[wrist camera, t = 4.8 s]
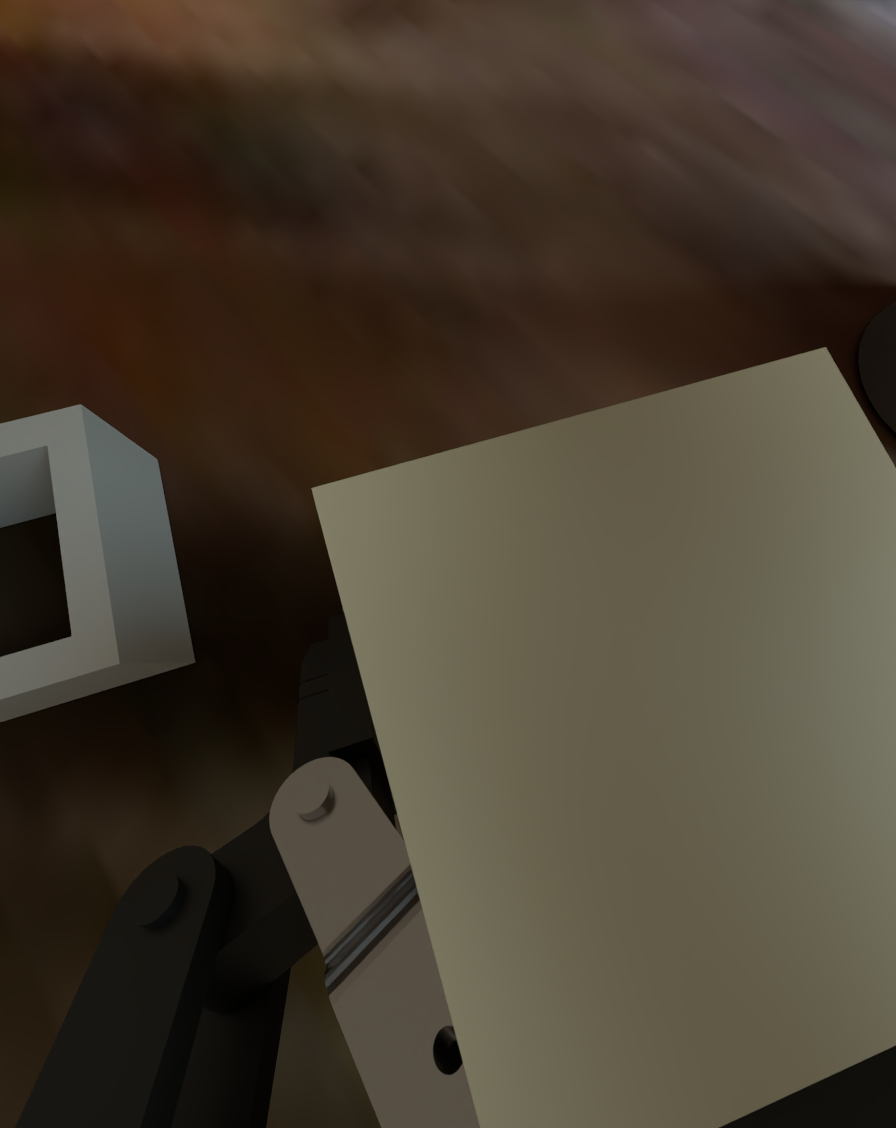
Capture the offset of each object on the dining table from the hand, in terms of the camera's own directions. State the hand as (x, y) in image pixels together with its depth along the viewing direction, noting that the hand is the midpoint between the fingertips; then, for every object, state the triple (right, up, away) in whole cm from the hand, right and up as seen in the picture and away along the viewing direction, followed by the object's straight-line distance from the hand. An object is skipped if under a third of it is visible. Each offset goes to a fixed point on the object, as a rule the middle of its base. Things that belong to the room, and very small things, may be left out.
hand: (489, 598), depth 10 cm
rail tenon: (0, -3, +6) cm, 7 cm away
